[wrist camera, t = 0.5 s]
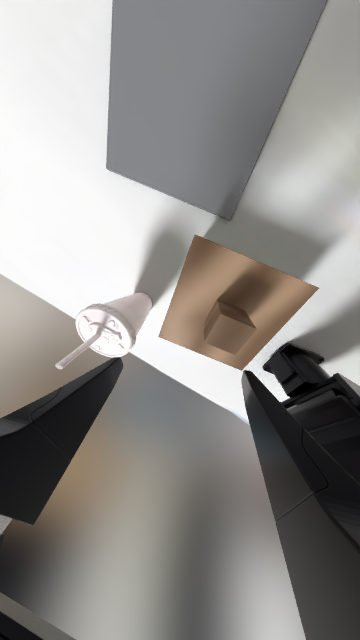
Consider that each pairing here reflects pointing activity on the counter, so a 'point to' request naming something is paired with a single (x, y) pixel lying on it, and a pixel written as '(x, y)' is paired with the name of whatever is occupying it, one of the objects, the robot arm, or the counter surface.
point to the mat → (200, 91)
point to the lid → (230, 304)
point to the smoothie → (110, 326)
